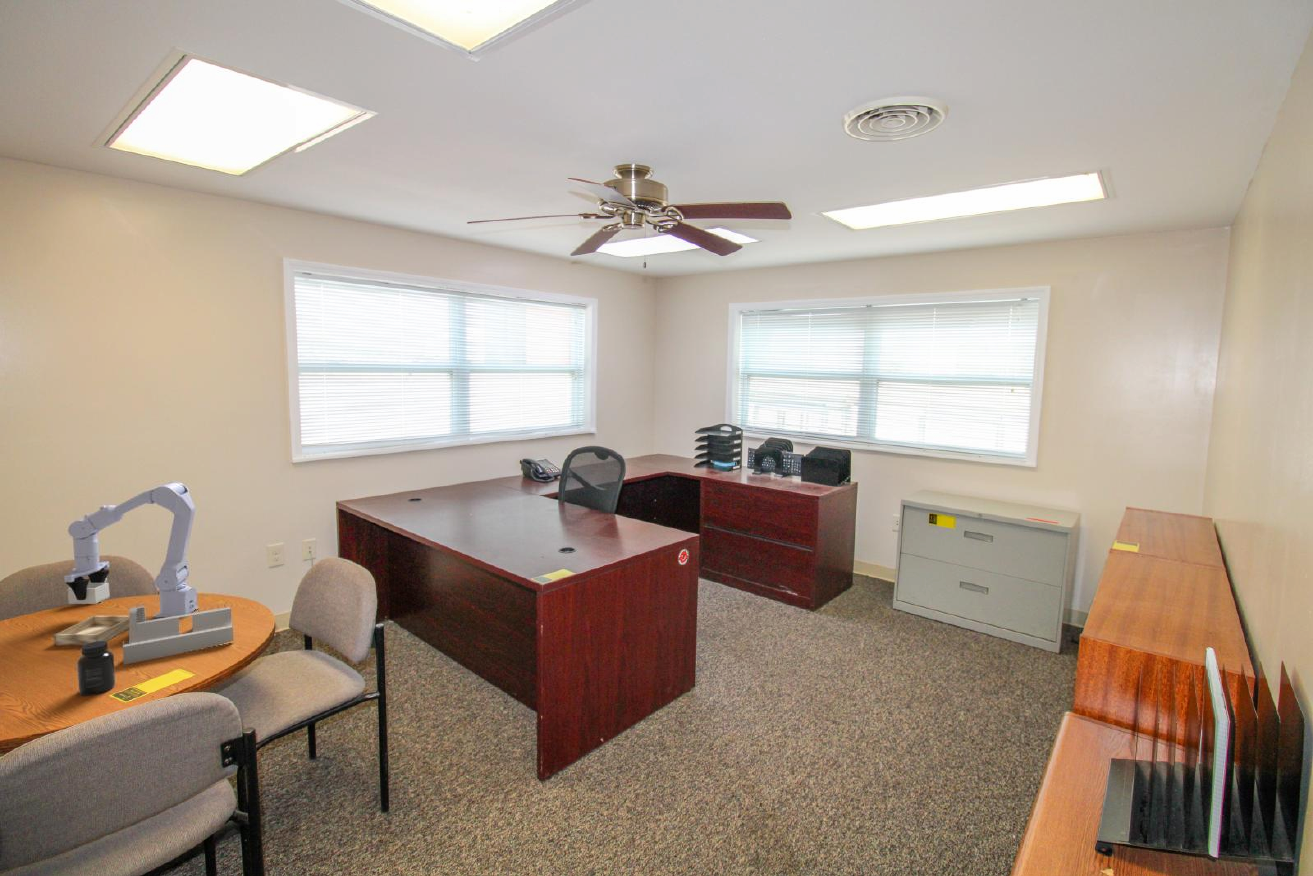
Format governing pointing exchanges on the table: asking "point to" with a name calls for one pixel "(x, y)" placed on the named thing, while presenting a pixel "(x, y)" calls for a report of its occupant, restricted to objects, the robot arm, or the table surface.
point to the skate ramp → (175, 633)
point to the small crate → (91, 594)
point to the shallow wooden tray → (92, 630)
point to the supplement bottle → (95, 669)
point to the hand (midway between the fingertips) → (89, 596)
